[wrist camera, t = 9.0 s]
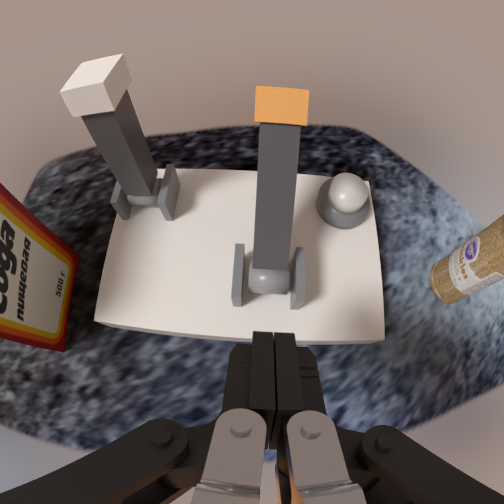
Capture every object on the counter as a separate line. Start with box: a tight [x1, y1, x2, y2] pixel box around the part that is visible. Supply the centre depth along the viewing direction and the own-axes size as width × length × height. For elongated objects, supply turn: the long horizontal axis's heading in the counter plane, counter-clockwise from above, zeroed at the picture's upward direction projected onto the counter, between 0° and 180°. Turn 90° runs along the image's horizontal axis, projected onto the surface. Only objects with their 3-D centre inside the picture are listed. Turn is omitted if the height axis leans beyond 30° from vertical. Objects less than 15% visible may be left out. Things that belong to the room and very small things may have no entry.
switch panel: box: [94, 164, 385, 345], centre depth 23 cm, size 22×14×6 cm, turn 87°
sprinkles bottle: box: [430, 215, 504, 304], centre depth 18 cm, size 5×4×13 cm
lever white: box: [60, 54, 163, 206], centre depth 18 cm, size 3×3×13 cm
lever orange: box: [248, 86, 309, 295], centre depth 18 cm, size 3×3×13 cm
